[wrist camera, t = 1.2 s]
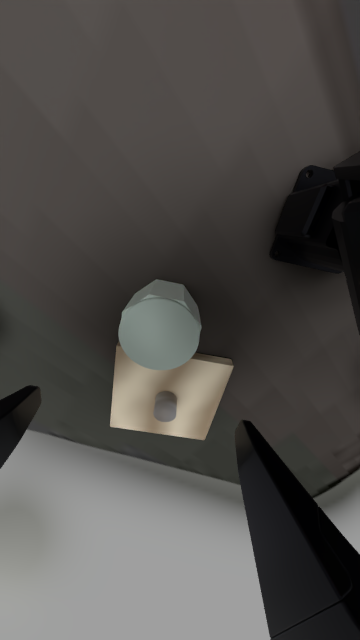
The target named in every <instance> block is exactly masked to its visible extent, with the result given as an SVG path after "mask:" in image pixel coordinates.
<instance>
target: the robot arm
mask: <svg viewBox="0 0 360 640" xmlns="http://www.w3.org/2000/svg"><path fill="white" fill-rule="evenodd" d="M333 168H334V171H333V170H329V169H325V168H321V167H317V166H314V165H310V166H307V167H305V168H304V169H303V170H302V171H301V172H300V174H299V177H298V180H297V182H296V185H295V188H294V190H293V193H292V194H290V195H289V196H288V198H287V201H286V204H285V206H284V209H283V212H282V214H281V217H280V220H279V222H278V225H277V228H276V233H277V235H276V238H275V241H274V243H273V246H272V249H271V251H270V257H271V258H272V259H274V260H278V261H282V262H287V263H291V264H296V265H301V266H305V267H310V268H314V269H319V270H323V271H328V272H332V273H341V272H344V273H345V276H346V281H347V285H348V289H349V293H350V297H351V302H352V306H353V310H354V314H355V318H356V323H357V327H358V331H359V335H360V152H358V153H356V154H355V155H353V156H351V157H350V158H348V159H346V160H345V161H343V162H341V163H340V164H338V165H336V166H335V167H333ZM307 171H309V172H310V176H309V178H307V177H306V172H307ZM276 251H279V254H278V255H277V256H275V252H276ZM40 404H41V392H40V388H39V387H38V386H31V385H29V386H26V387H24V388H22V389H21V390H19V391H17V392H15V393H13V394H11V395H9V396H7V397H5V398H3V399H1V400H0V468H1V467H2V466H3V465H4V463H5V462H6V460H7V459H8V457H9V456H10V455H11V453H12V452H13V450H14V449H15V447H16V446H17V444H18V443H19V441H20V440H21V438H22V436H23V435H24V433H25V431H26V429H27V428H28V426H29V424H30V422H31V421H32V419H33V417H34V415H35V414H36V412H37V410H38V408H39V407H40ZM235 444H236V454H237V464H238V473H239V479H240V484H241V489H242V494H243V500H244V505H245V510H246V515H247V520H248V526H249V531H250V536H251V541H252V546H253V552H254V557H255V562H256V567H257V572H258V577H259V583H260V588H261V593H262V598H263V603H264V609H265V614H266V619H267V624H268V629H269V634H270V637H271V640H360V554H359V553H358V552H357V551H356V550H355V549H354V548H353V546H352V545H351V544H350V543H349V542H348V541H347V539H346V538H345V537H344V536H343V535H342V534H341V532H340V531H339V530H338V529H337V528H336V526H335V525H334V524H333V523H332V522H331V520H330V519H329V518H328V517H327V515H326V514H325V513H324V512H323V510H322V509H321V508H320V507H318V505H317V503H316V502H315V501H314V499H313V498H312V497H311V496H310V494H309V493H308V492H307V491H306V489H305V488H304V487H303V486H302V485H301V483H300V482H299V481H298V480H297V478H296V477H295V476H294V475H293V473H292V472H291V471H290V470H289V468H288V467H287V466H286V465H285V463H284V462H283V461H282V460H281V458H280V457H279V456H278V455H277V454H276V452H275V451H274V450H273V449H272V447H271V446H270V445H269V444H268V442H267V441H266V440H265V439H264V437H263V436H262V435H261V434H260V432H259V431H258V430H257V429H256V427H255V426H254V425H253V424H252V423H251V422H250V421H247V420H241V421H240V423H239V425H238V427H237V429H236V431H235Z"/></svg>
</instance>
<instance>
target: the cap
mask: <svg viewBox="0 0 360 640" xmlns="http://www.w3.org/2000/svg"><path fill="white" fill-rule="evenodd" d="M201 328H202V326H201V321H200V315H199V310H198V306H197V304H196V303H195V301H194V300H193V298H192V297H191V295H190V294H189V292H188V291H187V289H186V288H185V286H184V285H183V284H178V283H173V282H168V281H163V280H158V279H156V280H154V281H153V282H151V283H150V284H148V285H147V286H145V287H144V288H142V289H141V290H139V291H138V292H137V293H135V294H134V296H133V297H132V298H131V300H130V301H129V303H128V304H127V306H126V307H125V309H124V310H123V311H122V319H121V322H120V325H119V331H118V336H119V341H120V345H121V347H122V349H123V350H124V352H125V353H126V355H127V356H128V357H129V358H130V359H131V360H132V361H134V362H135V363H137V364H138V365H140V366H143V367H145V368H148V369H152V370H169V369H174V368H177V367H179V366H181V365H183V364H184V363H186V362H187V361H188V360H189V359H190V358H191V357H192V356H193V355H194V354H195V352H196V350H197V347H198V344H199V335H200V331H201Z"/></svg>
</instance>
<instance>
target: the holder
mask: <svg viewBox="0 0 360 640" xmlns="http://www.w3.org/2000/svg"><path fill="white" fill-rule="evenodd" d="M233 367H234V365H233V363H232V360H231V359H228V358H222V357H216V356H211V355H205V354H200V353H195V354H194V355H193V356H192V357H191V358H190V359H189V360H188V361H187V362H186V363H184V364H183V365H181V366H179V367H177V368H174V369H169V370H152V369H148V368H145V367H143V366H140V365H138V364H137V363H135V362H134V361H132V360H131V359H130V358H129V357H128V356H127V355H126V353H125V352H124V350H123V349H122V347H121V345H120V341H119V342H118V344H117V346H116V358H115V370H114V383H113V395H112V408H111V420H110V427H116V428H123V429H130V430H137V431H144V432H151V433H158V434H165V435H172V436H179V437H186V438H193V439H200V440H205V438H206V435H207V433H208V430H209V427H210V425H211V422H212V420H213V417H214V415H215V412H216V410H217V407H218V405H219V402H220V400H221V397H222V395H223V392H224V390H225V387H226V385H227V382H228V380H229V377H230V374H231V372H232V369H233Z"/></svg>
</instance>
